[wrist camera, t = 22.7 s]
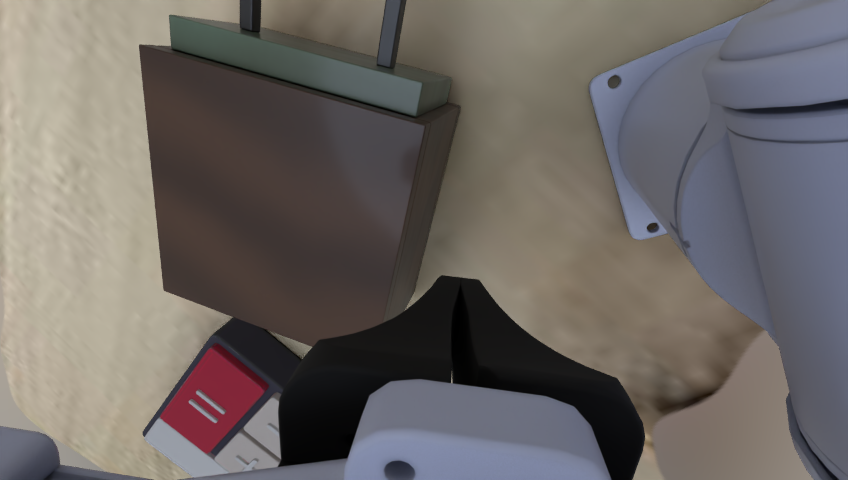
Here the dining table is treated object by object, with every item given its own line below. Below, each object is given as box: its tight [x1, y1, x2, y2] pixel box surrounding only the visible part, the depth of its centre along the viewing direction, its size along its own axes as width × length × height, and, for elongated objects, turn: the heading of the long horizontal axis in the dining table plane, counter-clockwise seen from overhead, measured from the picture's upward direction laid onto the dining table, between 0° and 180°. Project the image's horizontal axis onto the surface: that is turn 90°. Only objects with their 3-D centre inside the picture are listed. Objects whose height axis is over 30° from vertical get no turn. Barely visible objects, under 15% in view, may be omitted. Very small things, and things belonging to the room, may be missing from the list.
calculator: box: [143, 317, 302, 478], centre depth 31 cm, size 11×4×15 cm
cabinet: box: [139, 45, 461, 347], centre depth 20 cm, size 11×11×7 cm
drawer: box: [169, 0, 452, 117], centre depth 18 cm, size 16×10×5 cm, turn 167°
